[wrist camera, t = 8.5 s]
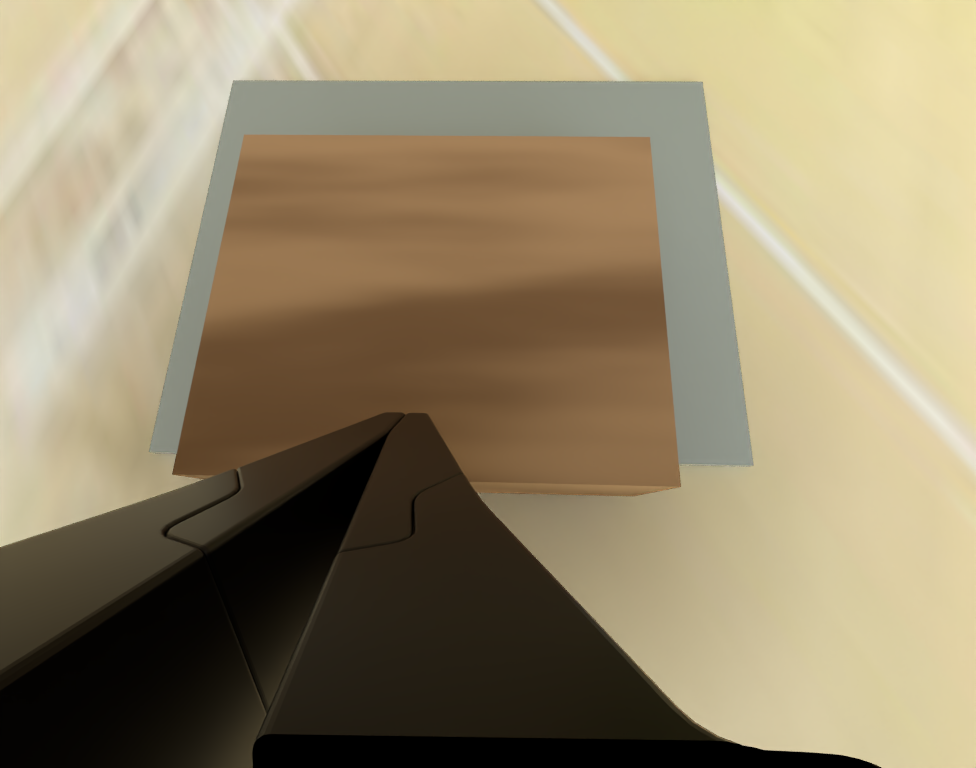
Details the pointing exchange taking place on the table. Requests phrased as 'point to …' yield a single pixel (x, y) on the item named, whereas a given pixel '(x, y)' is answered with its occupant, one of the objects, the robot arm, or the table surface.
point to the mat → (518, 112)
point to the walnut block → (443, 307)
